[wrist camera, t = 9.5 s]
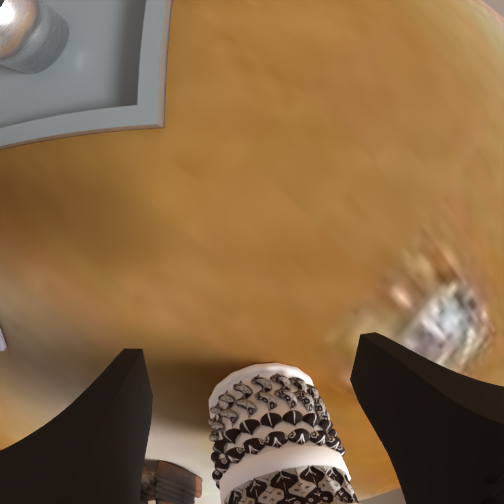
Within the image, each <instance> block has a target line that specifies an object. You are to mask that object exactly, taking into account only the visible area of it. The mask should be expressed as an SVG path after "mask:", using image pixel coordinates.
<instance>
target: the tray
mask: <svg viewBox="0 0 504 504" xmlns="http://www.w3.org/2000/svg"><path fill="white" fill-rule="evenodd" d="M43 1H44V2H45V3H47V4H48V5H49V6H50V7H51V8H52V9H54V10H55V11H56V12H57V13H58V14H59V15H60V16H62V17H63V18H64V19H65V20H66V21H67V23H68V26H69V38H68V42H67V44H66V47H65V49H64V51H63V52H62V54H61V55H60V56H59V58H58V59H57V60H56V61H55V62H54V63H53V64H52V65H51V66H49V67H48V68H47V69H45V70H43V71H41V72H39V73H35V74H27V73H24V72H21V71H18V70H15V69H12V68H9V67H7V66H4V65H1V64H0V150H2V149H6V148H11V147H15V146H20V145H25V144H30V143H36V142H41V141H47V140H53V139H59V138H66V137H73V136H80V135H88V134H96V133H105V132H115V131H126V130H139V129H154V128H164V122H165V90H166V70H167V54H168V41H169V29H170V18H171V9H172V0H43Z"/></svg>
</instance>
